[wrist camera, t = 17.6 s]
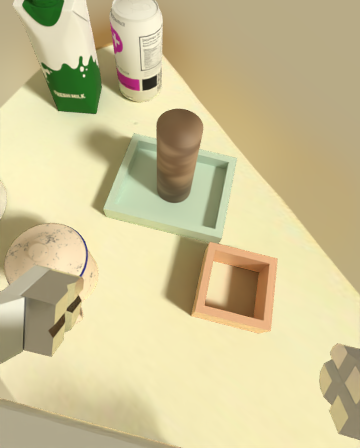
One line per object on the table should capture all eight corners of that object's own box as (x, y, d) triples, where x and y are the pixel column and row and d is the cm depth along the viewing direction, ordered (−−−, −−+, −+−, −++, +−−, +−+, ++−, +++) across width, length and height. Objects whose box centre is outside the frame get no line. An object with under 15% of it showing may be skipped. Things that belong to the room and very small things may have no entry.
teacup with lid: (25, 264, 41) (-21, 232, 30) (86, 237, 43) (63, 199, 32) (53, 344, 37) (12, 340, 26) (119, 309, 39) (105, 293, 28)
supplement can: (120, 105, 55) (108, 22, 41) (119, 75, 58) (107, -11, 44) (162, 104, 55) (164, 22, 42) (159, 74, 59) (159, -10, 45)
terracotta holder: (191, 315, 39) (194, 311, 35) (204, 252, 43) (209, 241, 39) (258, 333, 39) (270, 331, 35) (266, 267, 43) (277, 258, 39)
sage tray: (106, 216, 45) (103, 208, 42) (134, 144, 51) (133, 133, 48) (217, 244, 44) (221, 238, 42) (232, 167, 50) (236, 158, 48)
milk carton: (52, 114, 52) (-3, -13, 34) (62, 80, 56) (17, -51, 38) (100, 118, 53) (71, -5, 35) (107, 84, 57) (84, -44, 38)
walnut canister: (152, 198, 46) (151, 138, 33) (161, 170, 48) (163, 104, 35) (186, 206, 45) (198, 149, 33) (193, 178, 48) (207, 114, 35)
